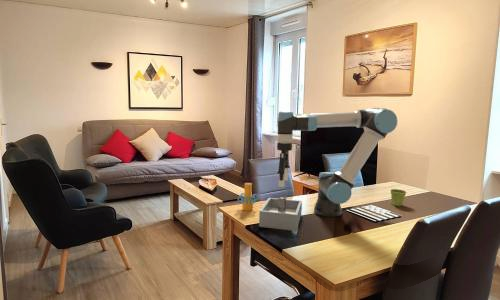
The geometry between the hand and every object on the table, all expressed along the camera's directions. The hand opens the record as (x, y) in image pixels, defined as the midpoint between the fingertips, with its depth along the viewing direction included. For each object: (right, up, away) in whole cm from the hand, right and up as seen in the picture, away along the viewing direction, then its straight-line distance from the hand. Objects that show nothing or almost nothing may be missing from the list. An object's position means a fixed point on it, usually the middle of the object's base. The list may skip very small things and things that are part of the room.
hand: (283, 183), depth 186 cm
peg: (-1, -20, +3) cm, 20 cm away
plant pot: (+73, -17, +37) cm, 83 cm away
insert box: (-1, -20, +3) cm, 20 cm away
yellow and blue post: (-18, -17, +19) cm, 32 cm away
